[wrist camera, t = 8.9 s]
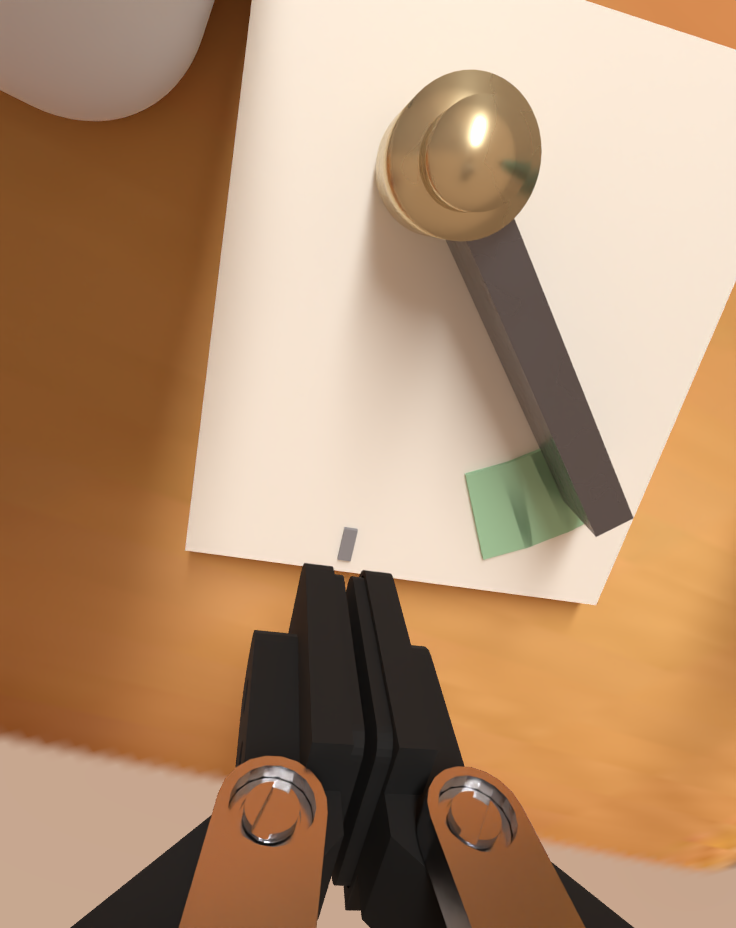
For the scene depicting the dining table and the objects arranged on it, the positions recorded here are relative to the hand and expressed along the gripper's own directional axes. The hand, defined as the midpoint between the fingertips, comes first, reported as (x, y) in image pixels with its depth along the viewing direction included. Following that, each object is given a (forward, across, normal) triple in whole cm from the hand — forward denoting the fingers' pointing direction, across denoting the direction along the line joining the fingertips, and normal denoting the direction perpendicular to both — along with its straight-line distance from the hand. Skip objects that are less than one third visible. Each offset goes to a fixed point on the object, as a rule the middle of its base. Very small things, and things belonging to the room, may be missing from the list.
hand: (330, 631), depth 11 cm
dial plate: (+15, -6, -4) cm, 17 cm away
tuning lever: (+14, -7, -5) cm, 16 cm away
